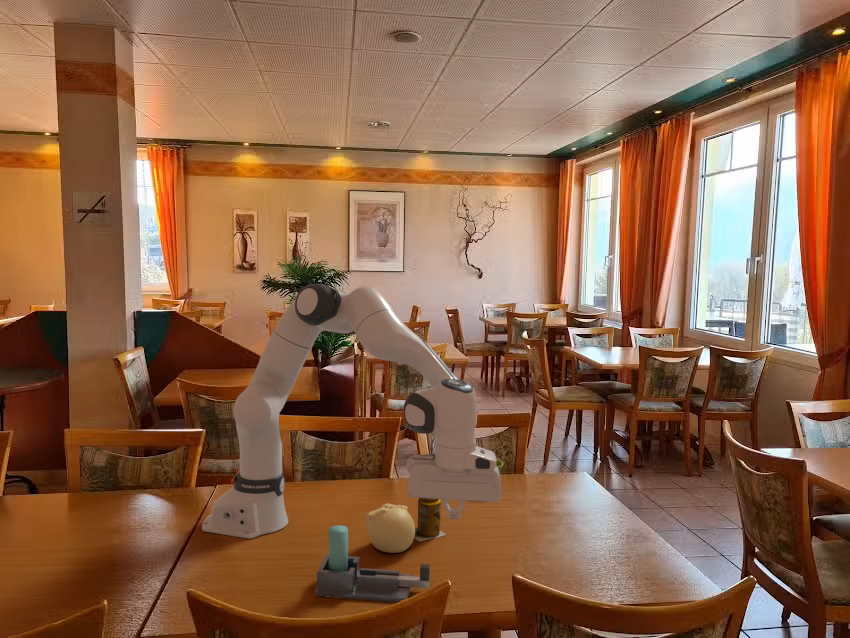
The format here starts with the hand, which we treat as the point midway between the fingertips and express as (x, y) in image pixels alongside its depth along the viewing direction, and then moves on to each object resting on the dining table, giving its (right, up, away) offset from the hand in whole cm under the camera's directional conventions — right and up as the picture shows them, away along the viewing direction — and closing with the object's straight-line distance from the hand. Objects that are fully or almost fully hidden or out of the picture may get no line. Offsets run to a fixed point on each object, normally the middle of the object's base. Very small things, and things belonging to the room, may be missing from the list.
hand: (453, 517), depth 134 cm
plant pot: (+14, -12, +64) cm, 67 cm away
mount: (-19, -17, +3) cm, 26 cm away
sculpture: (-15, -15, +23) cm, 31 cm away
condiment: (-6, -14, +31) cm, 35 cm away
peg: (-25, -15, +4) cm, 30 cm away
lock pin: (-11, -16, +3) cm, 19 cm away
